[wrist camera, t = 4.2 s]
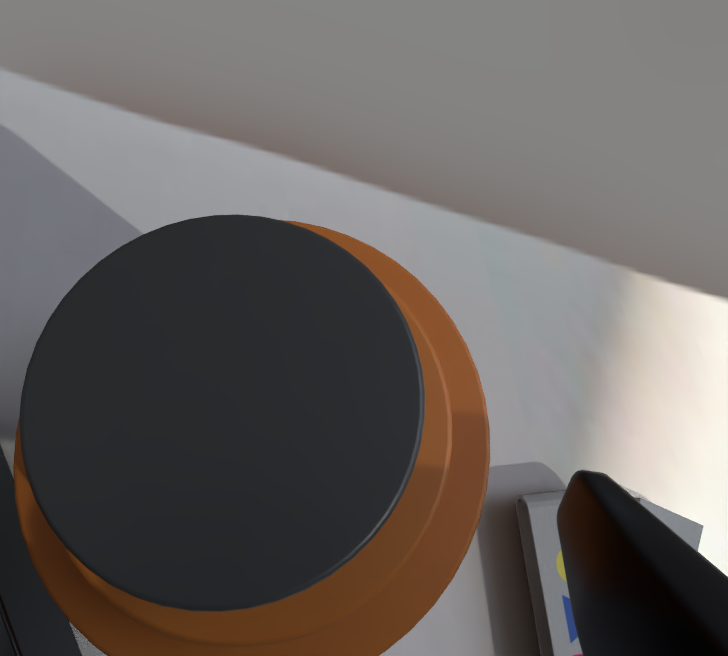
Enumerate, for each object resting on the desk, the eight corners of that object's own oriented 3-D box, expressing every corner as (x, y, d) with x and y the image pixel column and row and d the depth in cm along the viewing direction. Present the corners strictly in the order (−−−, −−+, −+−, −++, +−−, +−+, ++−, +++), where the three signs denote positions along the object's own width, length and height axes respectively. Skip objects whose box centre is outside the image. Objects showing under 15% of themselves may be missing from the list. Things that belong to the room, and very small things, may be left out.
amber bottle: (417, 478, 16) (763, 458, 4) (270, 604, 15) (87, 1182, 3) (308, 339, 17) (307, -40, 5) (160, 448, 15) (-378, 318, 3)
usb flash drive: (615, 867, 14) (638, 897, 13) (421, 778, 14) (429, 800, 13) (691, 526, 16) (715, 529, 15) (527, 453, 16) (540, 452, 15)
